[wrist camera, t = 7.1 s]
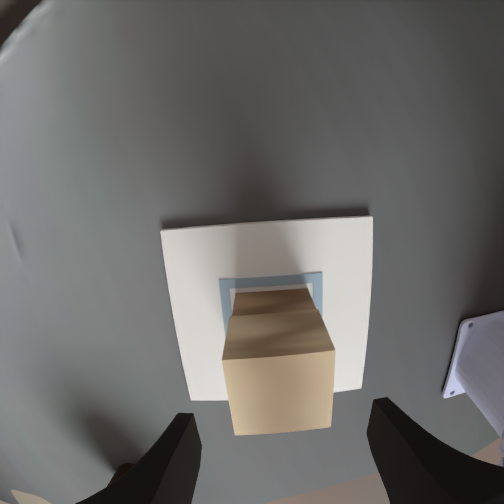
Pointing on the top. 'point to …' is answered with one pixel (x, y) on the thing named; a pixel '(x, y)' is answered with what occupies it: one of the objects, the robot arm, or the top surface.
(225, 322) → the board
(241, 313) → the walnut block
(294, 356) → the maple block
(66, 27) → the top surface
